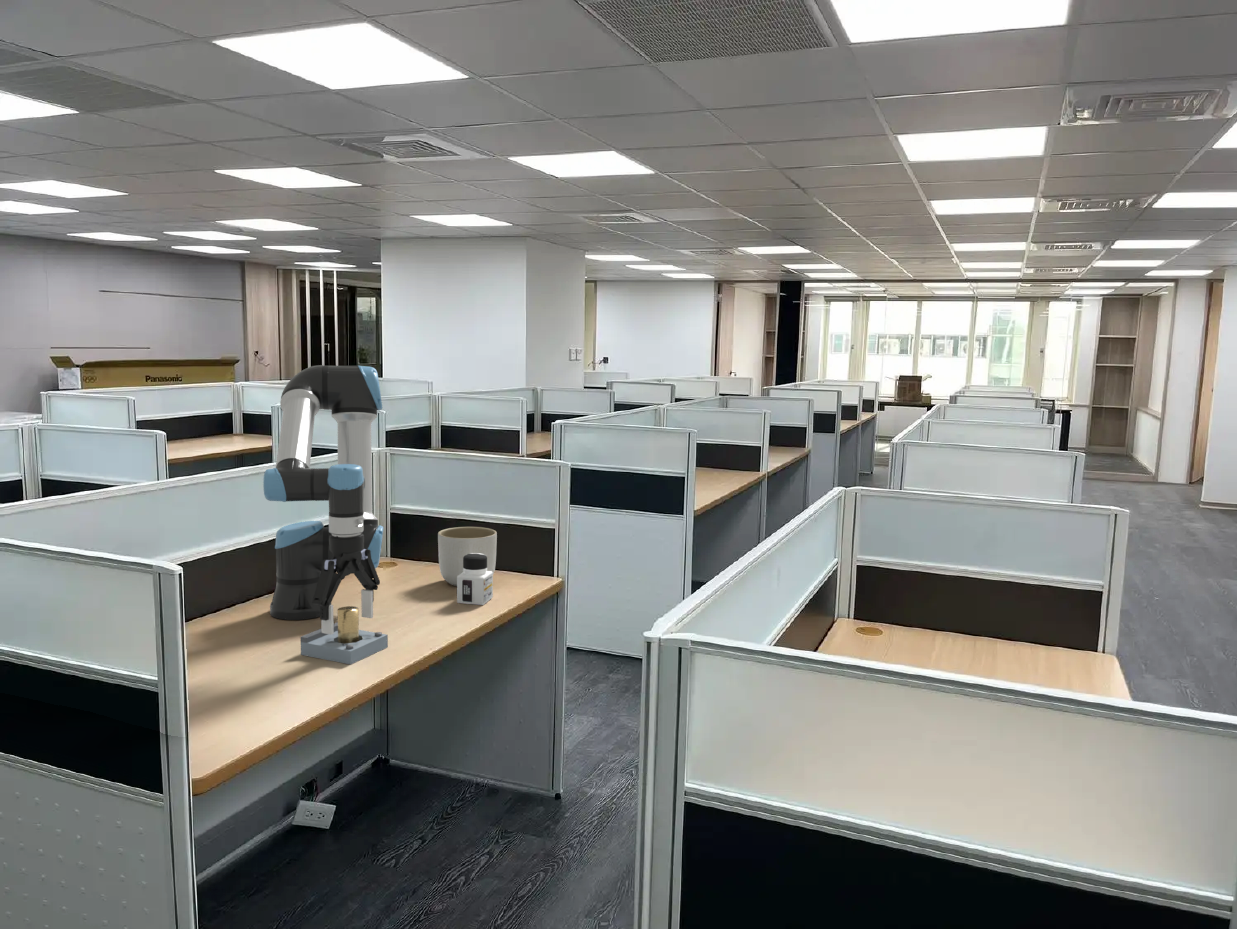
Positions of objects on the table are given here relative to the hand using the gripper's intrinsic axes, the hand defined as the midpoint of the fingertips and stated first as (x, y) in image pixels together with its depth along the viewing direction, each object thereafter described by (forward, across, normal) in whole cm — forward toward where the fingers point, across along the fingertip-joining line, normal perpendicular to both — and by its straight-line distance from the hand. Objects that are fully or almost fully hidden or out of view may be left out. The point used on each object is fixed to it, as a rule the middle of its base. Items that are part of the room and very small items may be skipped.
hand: (348, 625), depth 210 cm
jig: (+6, 0, +1) cm, 6 cm away
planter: (+6, +64, +9) cm, 65 cm away
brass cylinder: (+6, 0, 0) cm, 6 cm away
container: (+6, +49, -3) cm, 50 cm away
